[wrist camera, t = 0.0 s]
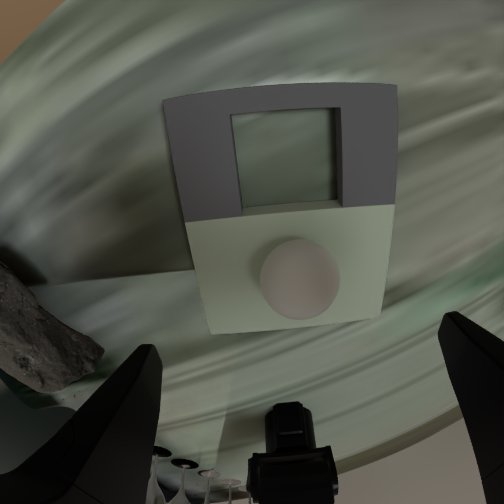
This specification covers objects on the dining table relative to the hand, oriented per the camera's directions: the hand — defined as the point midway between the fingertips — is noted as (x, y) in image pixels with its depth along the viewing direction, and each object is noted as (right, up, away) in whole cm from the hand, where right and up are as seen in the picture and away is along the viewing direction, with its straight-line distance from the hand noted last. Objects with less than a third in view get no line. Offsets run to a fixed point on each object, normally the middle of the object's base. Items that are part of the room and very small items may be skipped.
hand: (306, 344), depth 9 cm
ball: (+1, +1, +11) cm, 11 cm away
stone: (-20, 0, +14) cm, 24 cm away
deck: (+1, +5, +13) cm, 14 cm away
